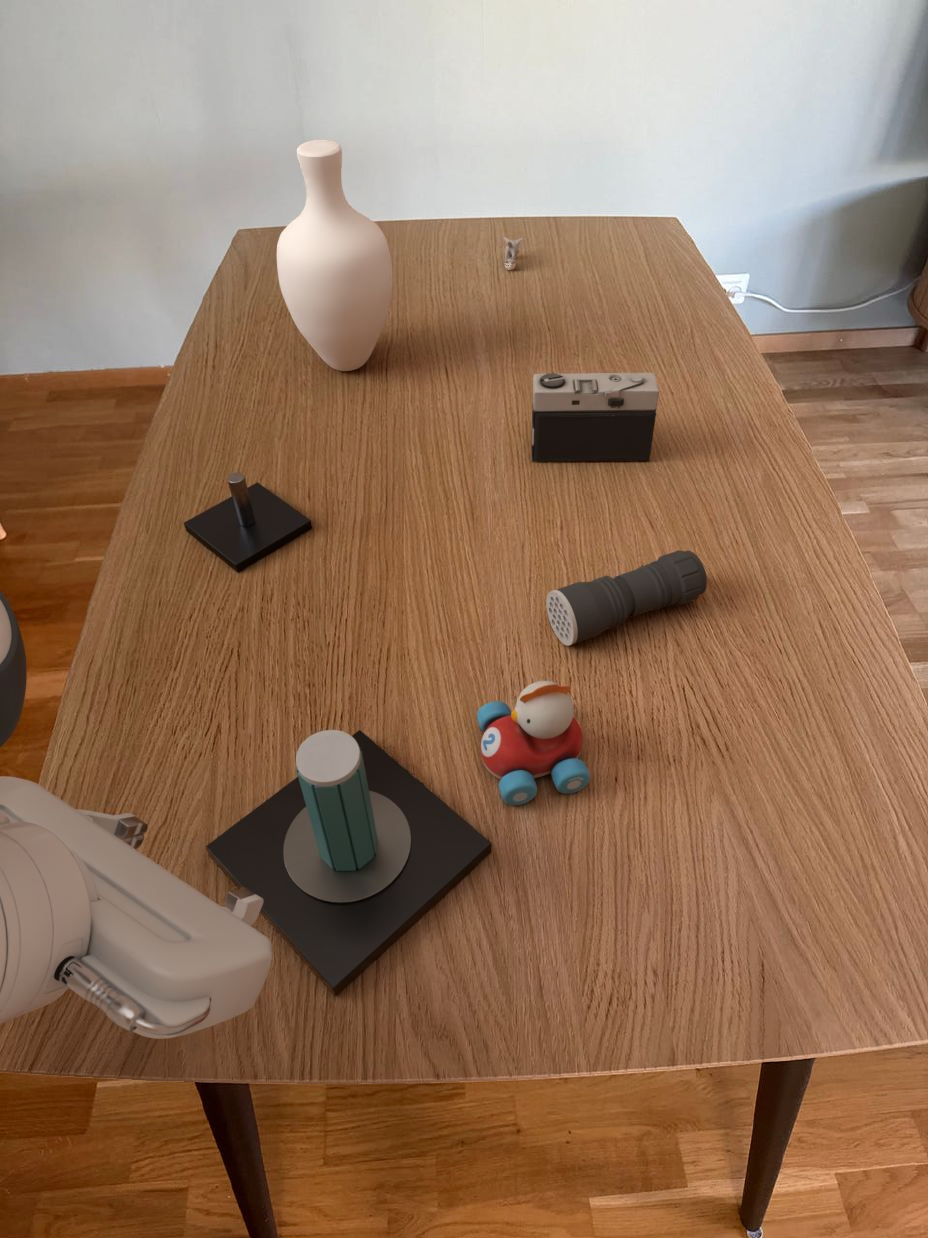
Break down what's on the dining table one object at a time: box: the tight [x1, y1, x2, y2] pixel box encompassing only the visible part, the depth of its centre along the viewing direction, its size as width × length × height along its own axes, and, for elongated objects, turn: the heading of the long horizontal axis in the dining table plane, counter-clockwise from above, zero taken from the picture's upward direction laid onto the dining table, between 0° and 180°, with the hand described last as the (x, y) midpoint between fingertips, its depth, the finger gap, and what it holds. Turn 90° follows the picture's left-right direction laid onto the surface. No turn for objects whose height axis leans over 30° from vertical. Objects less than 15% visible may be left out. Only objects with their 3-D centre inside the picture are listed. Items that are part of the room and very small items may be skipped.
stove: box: [205, 729, 493, 997], centre depth 72 cm, size 16×16×2 cm
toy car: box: [476, 680, 591, 806], centre depth 75 cm, size 9×9×10 cm
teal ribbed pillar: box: [295, 729, 377, 871], centre depth 67 cm, size 4×4×12 cm
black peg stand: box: [183, 471, 313, 574], centre depth 98 cm, size 10×10×7 cm
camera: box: [530, 372, 660, 463], centre depth 107 cm, size 14×8×10 cm, turn 88°
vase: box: [276, 139, 394, 372], centre depth 115 cm, size 14×14×28 cm
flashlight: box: [545, 549, 708, 647], centre depth 88 cm, size 15×5×5 cm, turn 114°
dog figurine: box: [502, 236, 524, 271], centre depth 143 cm, size 3×8×6 cm
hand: (192, 866), depth 55 cm, fingers open, 8 cm apart
